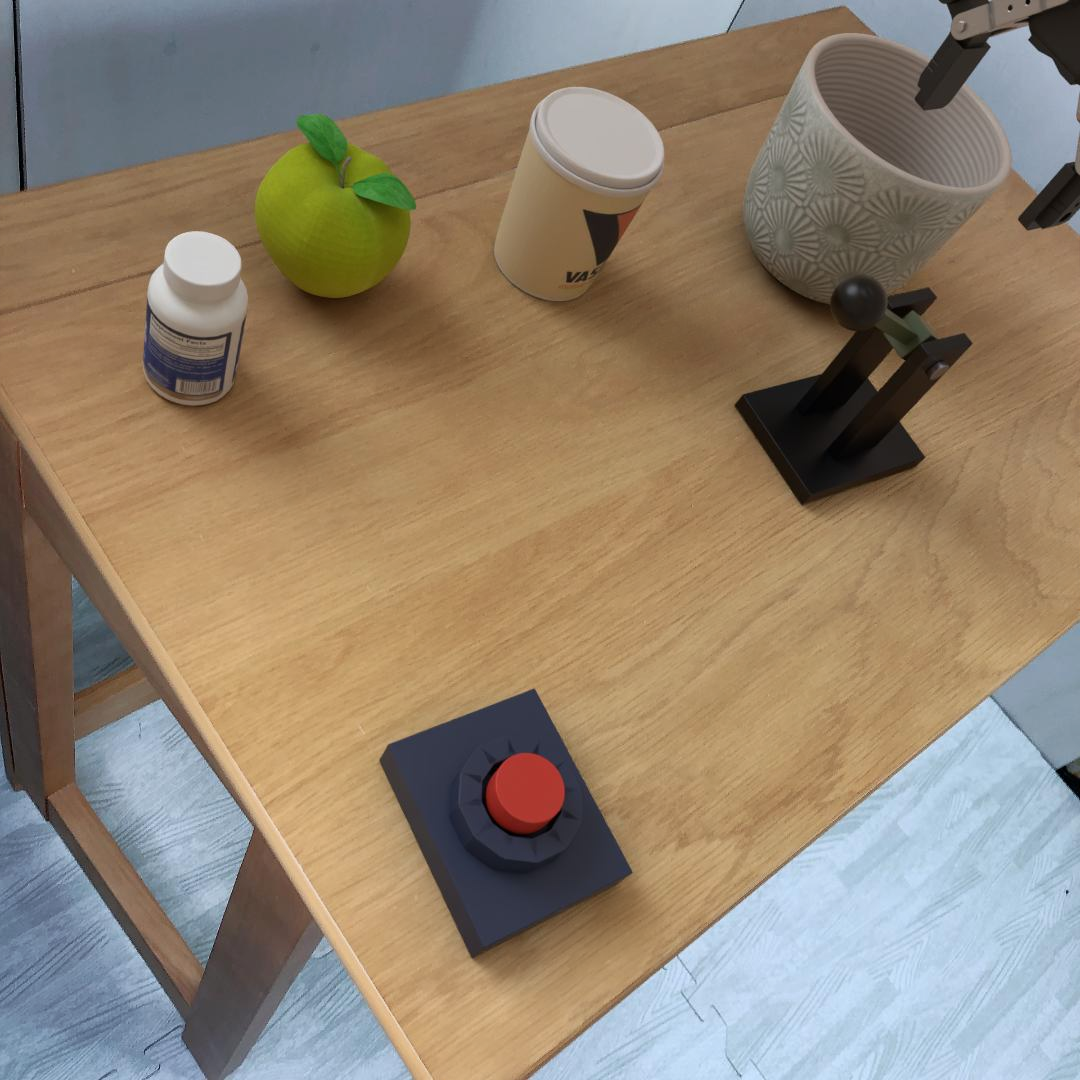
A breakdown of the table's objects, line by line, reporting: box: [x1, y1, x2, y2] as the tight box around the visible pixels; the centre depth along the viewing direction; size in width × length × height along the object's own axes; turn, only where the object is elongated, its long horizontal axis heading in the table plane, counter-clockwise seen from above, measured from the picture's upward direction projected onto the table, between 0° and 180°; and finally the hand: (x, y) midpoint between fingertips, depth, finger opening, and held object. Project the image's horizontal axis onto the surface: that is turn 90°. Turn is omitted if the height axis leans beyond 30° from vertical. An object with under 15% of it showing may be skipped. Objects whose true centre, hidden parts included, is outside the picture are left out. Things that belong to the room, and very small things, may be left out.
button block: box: [378, 688, 633, 959], centre depth 59 cm, size 11×9×4 cm
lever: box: [829, 275, 941, 362], centre depth 71 cm, size 14×3×3 cm, turn 119°
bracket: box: [734, 287, 974, 506], centre depth 80 cm, size 12×9×13 cm
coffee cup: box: [493, 86, 665, 302], centre depth 80 cm, size 9×9×12 cm
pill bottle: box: [142, 230, 249, 407], centre depth 65 cm, size 5×5×10 cm
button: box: [486, 753, 565, 834], centre depth 57 cm, size 4×4×2 cm
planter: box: [742, 32, 1013, 305], centre depth 89 cm, size 17×17×15 cm
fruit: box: [254, 113, 417, 299], centre depth 73 cm, size 9×9×10 cm
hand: (979, 163), depth 58 cm, fingers open, 8 cm apart
